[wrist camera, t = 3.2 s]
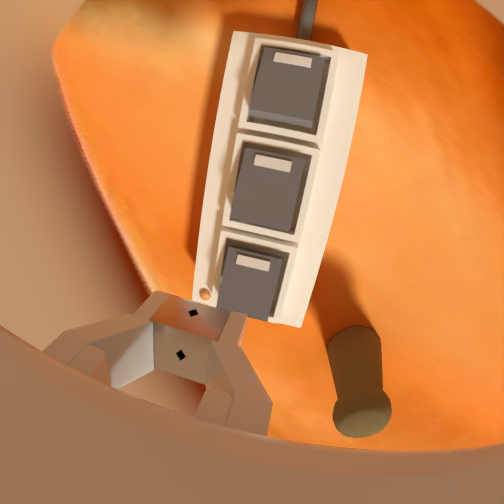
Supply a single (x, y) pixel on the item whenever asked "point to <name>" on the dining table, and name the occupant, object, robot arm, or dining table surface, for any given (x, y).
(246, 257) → the rocker
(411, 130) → the dining table surface
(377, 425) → the cork
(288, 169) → the rocker
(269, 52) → the rocker
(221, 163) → the switch strip
